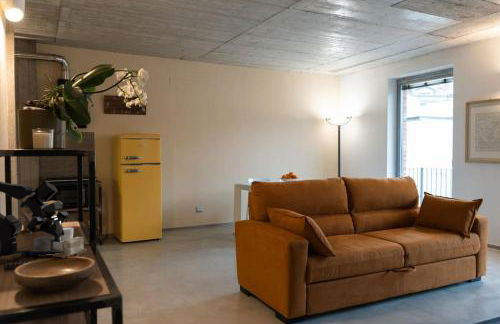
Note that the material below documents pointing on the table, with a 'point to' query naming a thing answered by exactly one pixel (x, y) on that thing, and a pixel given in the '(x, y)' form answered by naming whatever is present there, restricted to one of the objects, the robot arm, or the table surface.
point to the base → (70, 248)
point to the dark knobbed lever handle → (58, 240)
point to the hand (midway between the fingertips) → (61, 235)
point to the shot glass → (67, 233)
